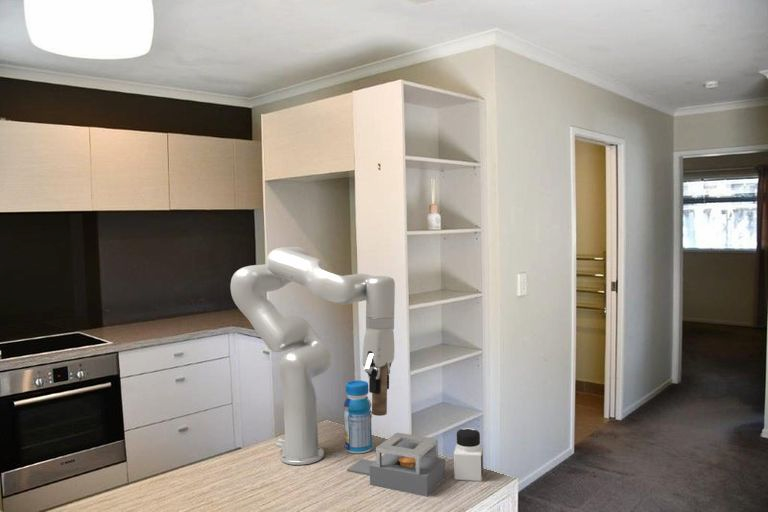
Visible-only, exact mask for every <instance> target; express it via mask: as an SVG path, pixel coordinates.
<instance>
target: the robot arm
mask: <svg viewBox="0 0 768 512" xmlns="http://www.w3.org/2000/svg"><path fill="white" fill-rule="evenodd" d="M230 280H231V281H230V294H231V298H232V300H233V302H234V304H235V306H237V308H238V310H240V312H241V313H242V314H243V315H244V317H246V319H247V320H248V321H249V323H250V324H251V326H252V327H253V328H254V330H255V331H256V333H257V334H258V335H259V337H260V338H261V340H262V341H263V343H264V344H265V345H266V346H267V348H268V349H269V350H270V351H271V352H274V353H281V352H286V351H287V352H286V353H285V354H283V356H282V357H281V359H280V362H279V364H278V367H279V368H278V369H279V370H278V371H279V376H280V381H281V384H282V385H281V386H282V393H283V396H282V397H283V416H284V421H283V423H284V438H283V437H278V438H277V440H276V442H275V447H276V448H281V449H282V451H281V452H280V454H279V460H280V461H281V462H283V463H284V464H287V465H292V466H293V465H294V466H298V465H299V466H300V465H301V466H303V465H309V464H314V463H316V462H318V461H320V460H322V459H323V458H324V456H325V452H324V449H323V448H322V447H320V446H319V421H318V397H317V396H318V395H317V390H316V387H315V385H314V384H313V379H314V378H316V377H318V376H321V375H323V374H325V373H327V371H329V370H330V368H331V365H332V362H333V361H332V359H333V358H332V355H331V352H330V350H329V348H328V347H327V345H326V344H325V341H323V340H322V338H321V337H320V334H318V333H317V332H316V330H315V329H314V327H313V326H312V325H311V324H310V322H308V321H307V320H306V319H305V318H304V317H301V316H298V315H292V316H288V317H284V316H283V315H282V314H281V313H280V312H279V310H278V309H277V308H276V306H275V304H273V302H271V301H270V300H269V299H267V298H266V297H264V296H263V295H262V293H267V292H274V291H278V290H280V289H282V288H284V287H286V286H287V285H288V284H290V283H291V282H293V283H296V284H298V285H300V286H303V287H306V288H308V290H309V291H310V292H311V293H312V294H314V296H316V297H319V298H321V299H323V300H326V301H329V302H331V303H335V304H337V305H338V304H339V305H350V304H354V303H358V302H363V301H365V302H366V303H365V304H366V305H365V328H366V329H365V330H364V337H363V344H362V345H363V346H362V360H361V361H362V366H364V372H366V374H367V377H368V379H369V380H368V393H370V394H372V393H375V394H380V393H381V379H379V377H380V367H382V366H384V365H385V364H386V362H387V390H389V389H390V374H391V367H392V363H393V361H394V359H395V333H394V329H395V306H396V305H395V298H396V297H395V295H396V292H395V291H396V289H395V288H396V286H395V285H396V283H395V280H394V278H393V277H390V276H386V275H384V276H383V275H380V276H379V275H376V276H374V275H369V274H367V273H354V274H353V273H352V274H346V275H340V274H336V273H333V272H331V271H329V270H325V268H324V263H323V261H322V260H321V259H319V258H317V257H314V256H311V255H310V253H309V251H307V250H306V249H305V248H303V247H301V246H284V247H283V246H281V247H277V248H274V249H272V250H270V251H269V253H268V254H267V256H266V260H265V264H254V265H247V266H244V267H241V268H239V269H238V270H236V271H235V272H234V273H233V275H232V277H231V279H230ZM289 350H290V351H289ZM373 364H375V366H373ZM373 369H376V372H375V370H373Z"/></svg>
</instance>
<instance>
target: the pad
mask: <svg viewBox="0 0 768 512" xmlns="http://www.w3.org/2000/svg"><path fill="white" fill-rule="evenodd" d="M375 461H376V460H369V459H364V458H361V459H359V460H357V462H355V463H353V464H352V465H351V466H349V467H348V468H347V469H346V472H351V473H357V474H361V475H366V476H370V465H371V464H372V463H374V462H375Z"/></svg>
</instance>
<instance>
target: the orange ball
mask: <svg viewBox="0 0 768 512" xmlns="http://www.w3.org/2000/svg"><path fill="white" fill-rule="evenodd" d="M399 462H400V465H401V466H406V467H411V468H413V467H414V466H416V463H415V458H411V457H405V456H401V457H399Z"/></svg>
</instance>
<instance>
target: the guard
mask: <svg viewBox="0 0 768 512" xmlns="http://www.w3.org/2000/svg"><path fill="white" fill-rule="evenodd" d="M382 453H383V454H386V453H388V454H394V455H399V456H405V457H411V458H415V463H416V474H417V475H420V474H421V457H428V458H434V459H437V458H439V440H438V438H434V437H429V436H428V437H427V436H423V435H422V436H420V435H414V434H409V433H403V432H401V433H400V432H396V433H394V434H393V435H391V436H390V437H389V438H387V439H386V440H384V441H383V442H382V443H380V444H378V445H377V446H376V447H375V456H376V457H375V459H376V460H375V461H376V467H381V466H382V456H383V455H382Z"/></svg>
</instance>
